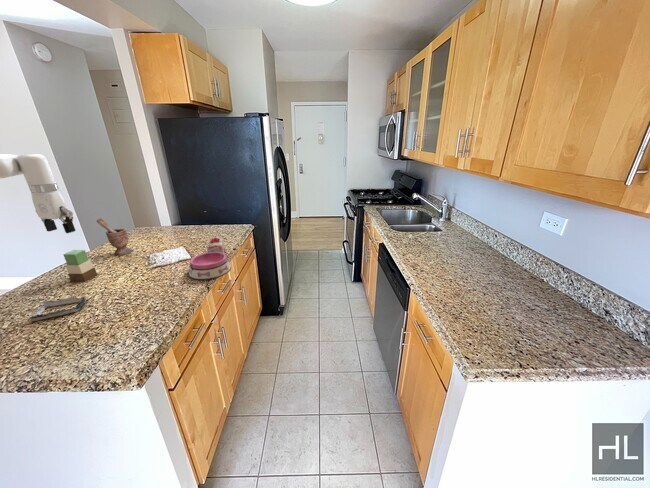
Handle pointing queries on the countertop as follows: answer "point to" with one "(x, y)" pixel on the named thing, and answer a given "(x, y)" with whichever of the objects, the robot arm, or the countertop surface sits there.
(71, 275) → the walnut block
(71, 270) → the cream block
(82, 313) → the countertop surface
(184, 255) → the white flat packet
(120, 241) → the mortar and pestle
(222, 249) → the food item
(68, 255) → the green block
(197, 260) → the dog bowl
